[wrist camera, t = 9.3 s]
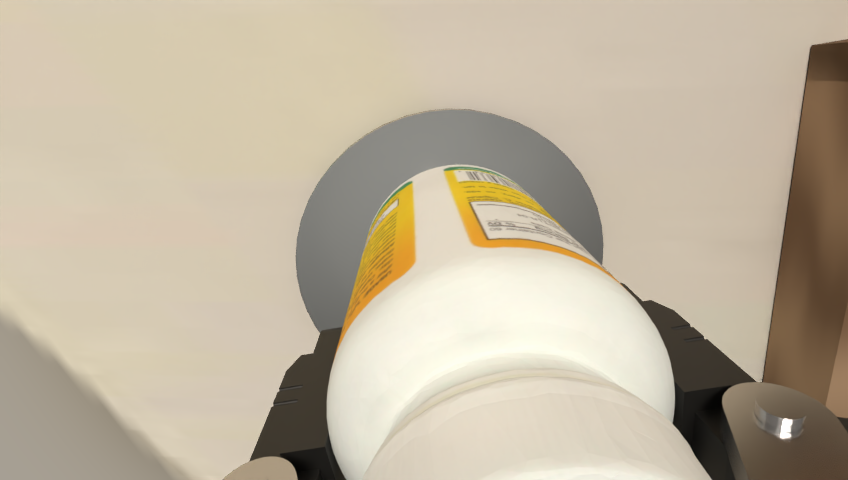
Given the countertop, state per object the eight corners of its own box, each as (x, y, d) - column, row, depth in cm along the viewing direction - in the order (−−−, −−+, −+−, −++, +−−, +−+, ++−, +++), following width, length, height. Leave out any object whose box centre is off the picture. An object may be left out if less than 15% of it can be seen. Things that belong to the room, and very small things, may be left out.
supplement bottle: (518, 135, 12) (874, 310, 3) (558, 297, 14) (849, 711, 5) (336, 197, 12) (150, 517, 3) (399, 346, 14) (389, 814, 5)
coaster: (262, 138, 13) (256, 141, 12) (592, 82, 13) (601, 82, 12) (338, 401, 16) (335, 413, 16) (598, 360, 16) (604, 370, 16)
